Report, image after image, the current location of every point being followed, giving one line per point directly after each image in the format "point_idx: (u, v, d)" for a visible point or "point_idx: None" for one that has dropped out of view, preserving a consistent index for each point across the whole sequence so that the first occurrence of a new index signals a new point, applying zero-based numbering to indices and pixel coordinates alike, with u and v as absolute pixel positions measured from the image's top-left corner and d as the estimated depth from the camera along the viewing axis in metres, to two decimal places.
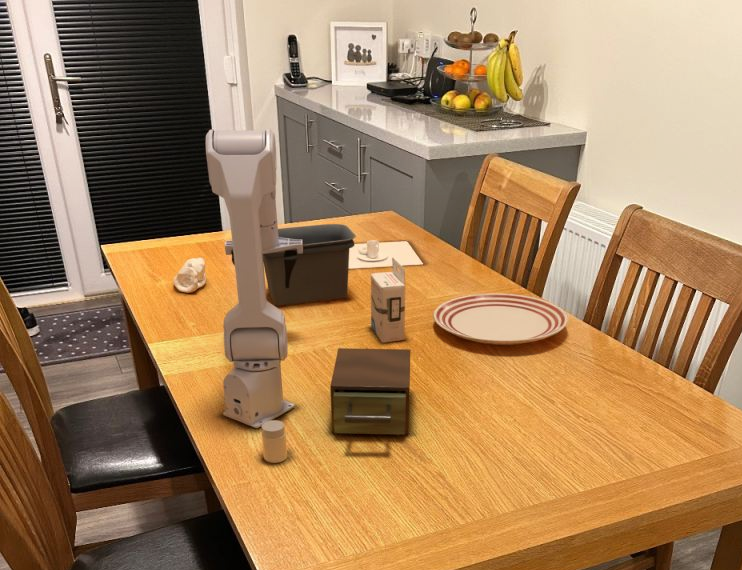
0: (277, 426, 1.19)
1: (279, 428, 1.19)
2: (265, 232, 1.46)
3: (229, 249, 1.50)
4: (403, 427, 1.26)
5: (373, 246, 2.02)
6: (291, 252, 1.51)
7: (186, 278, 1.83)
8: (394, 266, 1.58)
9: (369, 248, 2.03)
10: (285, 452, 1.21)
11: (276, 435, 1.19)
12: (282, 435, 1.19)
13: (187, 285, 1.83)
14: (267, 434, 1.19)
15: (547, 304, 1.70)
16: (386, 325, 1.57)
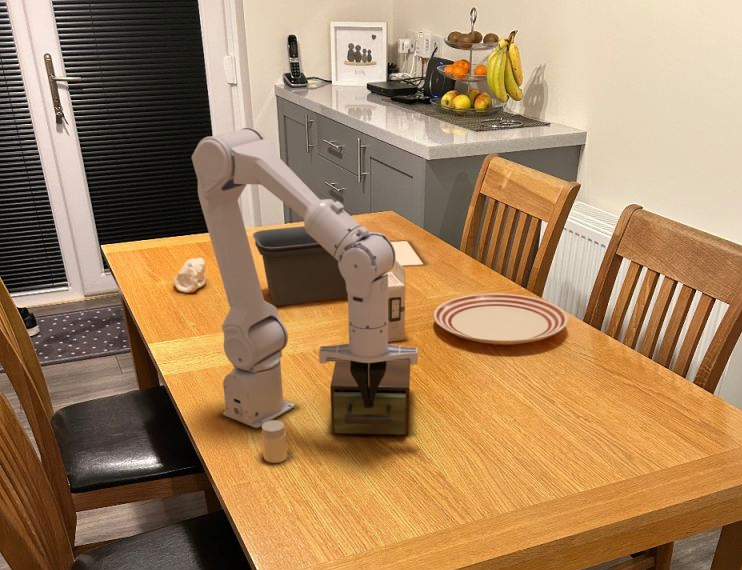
0: (277, 426, 1.19)
1: (279, 428, 1.19)
2: (372, 335, 1.14)
3: (324, 356, 1.17)
4: (403, 427, 1.26)
5: None
6: (379, 362, 1.18)
7: (186, 278, 1.83)
8: (394, 266, 1.58)
9: None
10: (285, 452, 1.21)
11: (276, 435, 1.19)
12: (282, 435, 1.19)
13: (187, 285, 1.83)
14: (267, 434, 1.19)
15: (547, 304, 1.70)
16: None
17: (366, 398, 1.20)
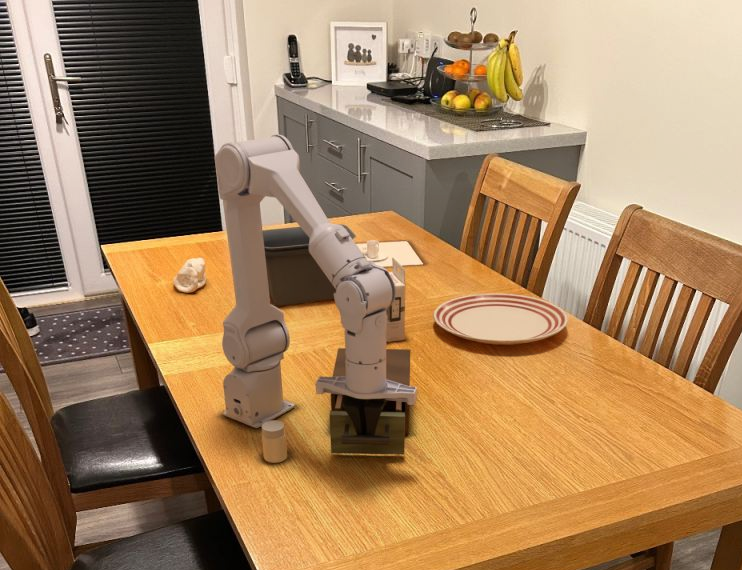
0: (277, 426, 1.19)
1: (279, 428, 1.19)
2: (365, 371, 1.09)
3: (321, 387, 1.14)
4: (402, 447, 1.21)
5: (373, 246, 2.02)
6: (377, 399, 1.13)
7: (186, 278, 1.83)
8: (394, 266, 1.58)
9: (369, 248, 2.03)
10: (285, 452, 1.21)
11: (276, 435, 1.19)
12: (282, 435, 1.19)
13: (187, 285, 1.83)
14: (267, 434, 1.19)
15: (547, 304, 1.70)
16: (386, 325, 1.57)
17: (360, 434, 1.16)
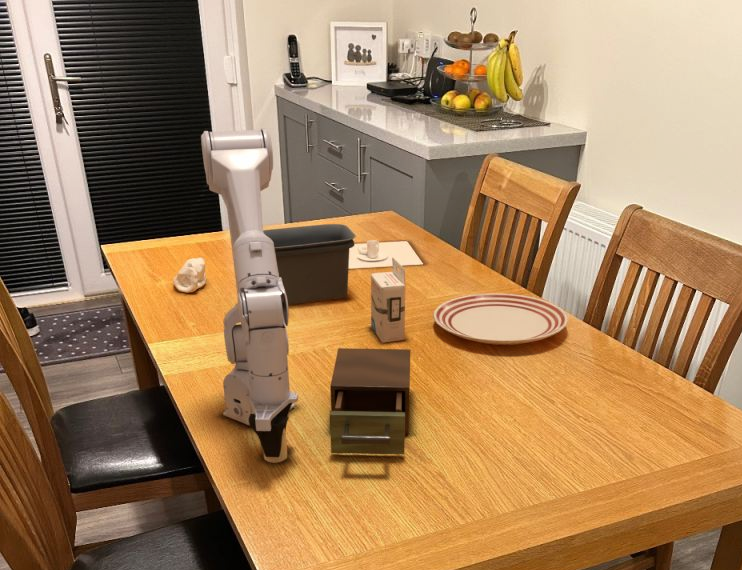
0: None
1: None
2: (249, 376, 1.14)
3: None
4: (402, 447, 1.21)
5: (373, 246, 2.02)
6: None
7: (186, 278, 1.83)
8: (394, 266, 1.58)
9: (369, 248, 2.03)
10: (285, 452, 1.21)
11: None
12: (282, 435, 1.19)
13: (187, 285, 1.83)
14: None
15: (547, 304, 1.70)
16: (386, 325, 1.57)
17: None
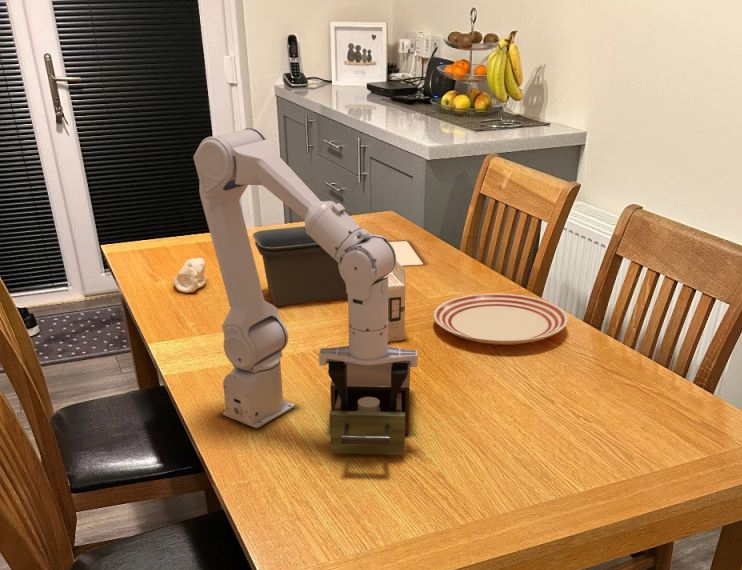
0: (370, 399, 1.23)
1: (374, 398, 1.23)
2: (372, 338, 1.13)
3: (324, 358, 1.17)
4: (402, 447, 1.21)
5: None
6: (401, 365, 1.18)
7: (186, 278, 1.83)
8: None
9: None
10: None
11: None
12: None
13: (187, 285, 1.83)
14: (378, 407, 1.22)
15: (547, 304, 1.70)
16: None
17: (344, 400, 1.20)
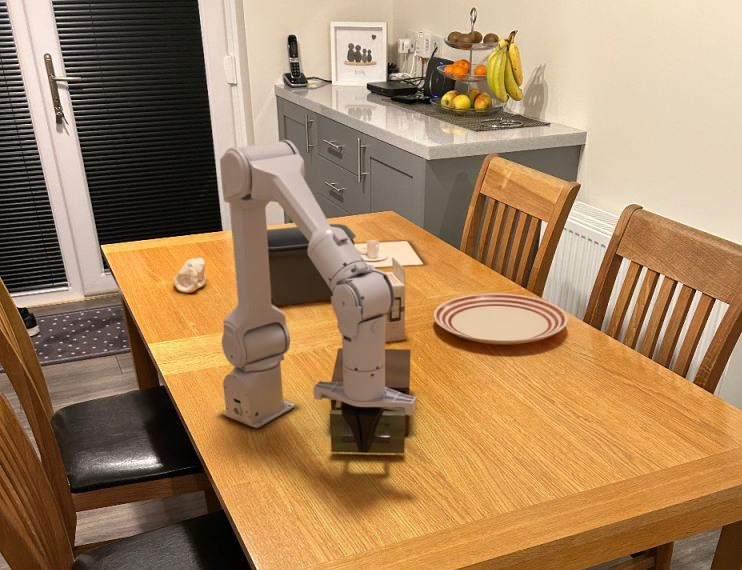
0: None
1: None
2: (361, 378, 1.05)
3: (318, 392, 1.11)
4: (402, 446, 1.21)
5: (373, 246, 2.02)
6: (373, 407, 1.09)
7: (186, 278, 1.83)
8: (394, 266, 1.58)
9: (369, 248, 2.03)
10: None
11: None
12: None
13: (187, 285, 1.83)
14: None
15: (547, 304, 1.70)
16: (386, 325, 1.57)
17: (359, 442, 1.12)
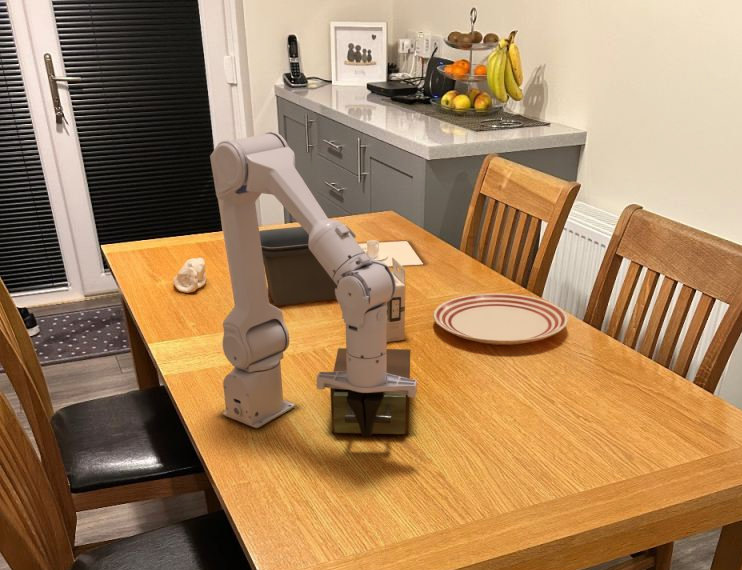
0: None
1: None
2: (367, 365, 1.11)
3: (321, 382, 1.15)
4: (403, 427, 1.26)
5: (373, 246, 2.02)
6: (376, 392, 1.15)
7: (186, 278, 1.83)
8: (394, 266, 1.58)
9: (369, 248, 2.03)
10: None
11: None
12: None
13: (187, 285, 1.83)
14: None
15: (547, 304, 1.70)
16: None
17: (363, 427, 1.18)
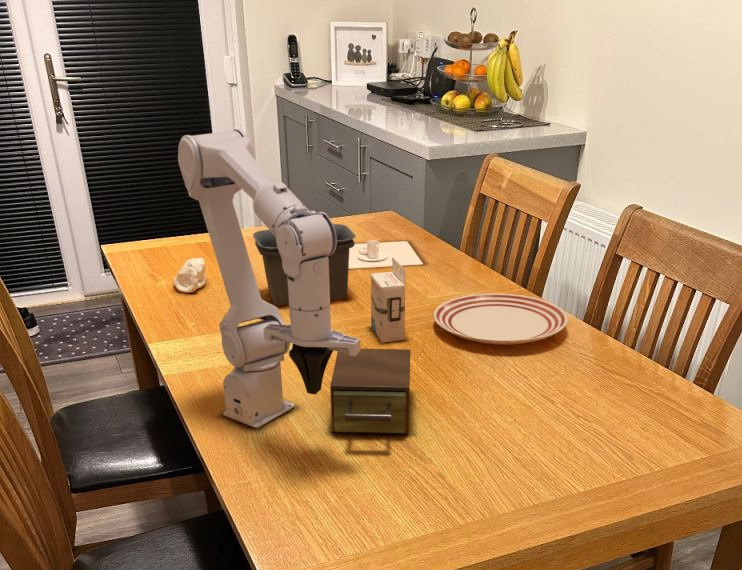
0: None
1: None
2: (305, 318, 1.09)
3: (268, 334, 1.15)
4: (403, 425, 1.26)
5: (373, 246, 2.02)
6: (319, 348, 1.13)
7: (186, 278, 1.83)
8: (394, 266, 1.58)
9: (369, 248, 2.03)
10: None
11: None
12: None
13: (187, 285, 1.83)
14: None
15: (547, 304, 1.70)
16: (386, 325, 1.57)
17: (307, 383, 1.16)
